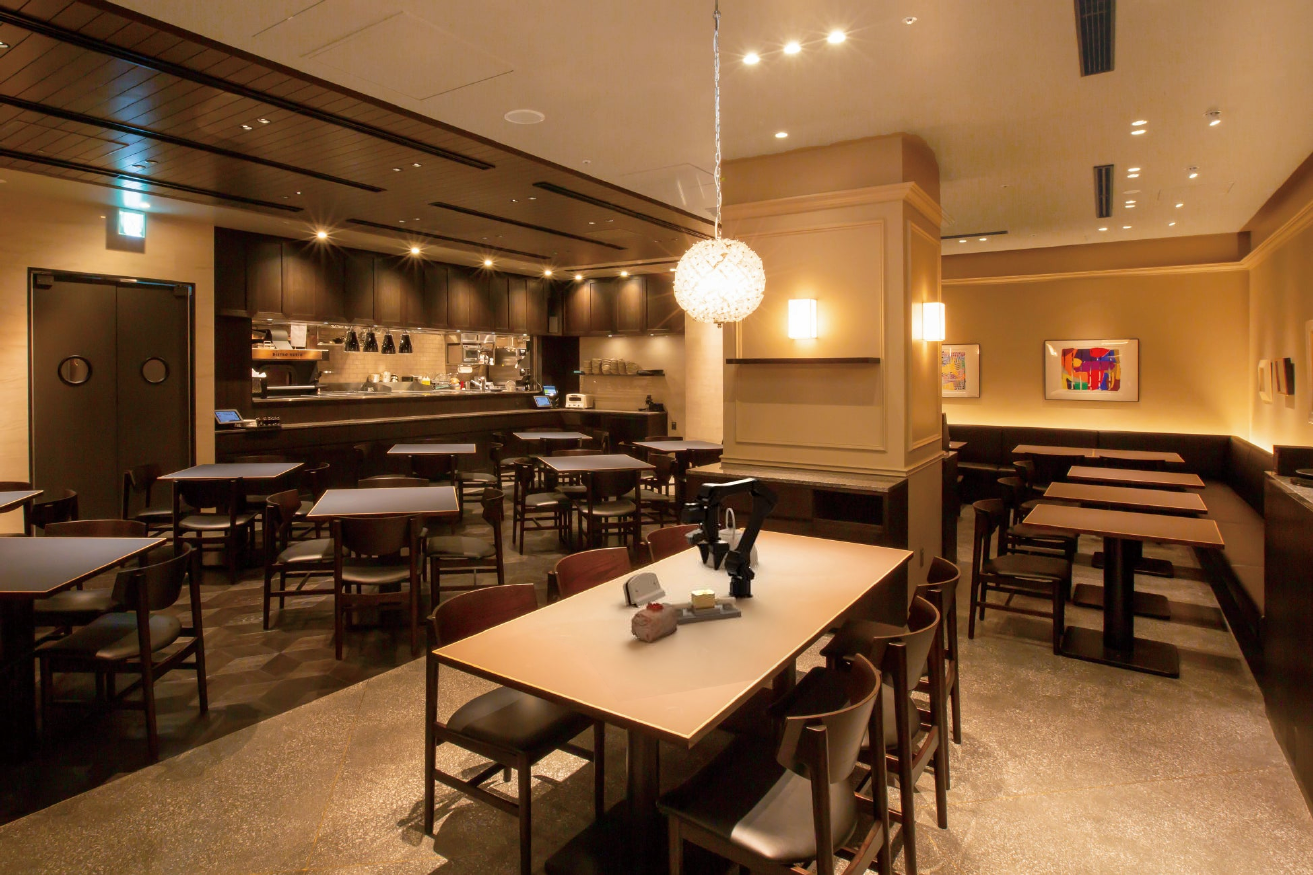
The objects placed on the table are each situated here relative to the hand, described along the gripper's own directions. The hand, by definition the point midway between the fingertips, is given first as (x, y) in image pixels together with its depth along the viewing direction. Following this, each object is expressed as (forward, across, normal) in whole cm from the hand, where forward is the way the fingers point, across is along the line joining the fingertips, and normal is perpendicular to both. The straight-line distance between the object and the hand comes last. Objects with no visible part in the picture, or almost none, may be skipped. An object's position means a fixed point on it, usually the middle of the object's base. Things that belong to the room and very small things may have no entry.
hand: (710, 567), depth 237 cm
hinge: (+12, -11, -20) cm, 26 cm away
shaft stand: (+12, +12, -8) cm, 19 cm away
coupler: (+10, +12, -8) cm, 18 cm away
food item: (+12, +23, -28) cm, 39 cm away
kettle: (+12, -47, +30) cm, 57 cm away
